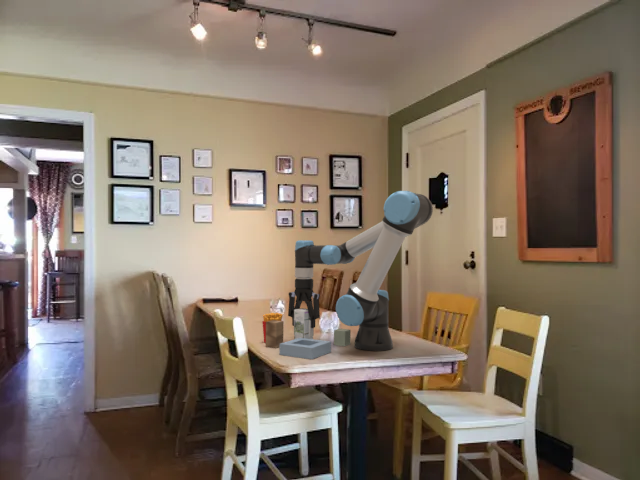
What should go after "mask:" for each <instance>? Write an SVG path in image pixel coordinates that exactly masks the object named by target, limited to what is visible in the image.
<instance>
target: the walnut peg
mask: <svg viewBox="0 0 640 480" xmlns="http://www.w3.org/2000/svg"><path fill="white" fill-rule="evenodd" d="M281 343H284V320H282V321H277V320H272V321H267V322H266V343H265V348H271V349H280V344H281Z"/></svg>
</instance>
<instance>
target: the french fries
mask: <svg viewBox="0 0 640 480" xmlns="http://www.w3.org/2000/svg"><path fill="white" fill-rule="evenodd" d="M262 316H263V317H262V318H263V320H262V322H261V323H262V332H263V333H262V334H263V341H264V342H263V343H265V344H266V322H267V321H272V320H277V321H283V320H282V319H283V316H284V315H283V314H282V313H279V312H270V313H265V314H263V315H262Z"/></svg>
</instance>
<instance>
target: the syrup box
mask: <svg viewBox="0 0 640 480" xmlns="http://www.w3.org/2000/svg"><path fill="white" fill-rule="evenodd" d="M309 320H310V316H309V312H308V308H306V307H304V308H303V307H300V308H299V309H294V326H293V335H294V336H293V340H294V339H297V338H306V339H314V336H310V337H309Z"/></svg>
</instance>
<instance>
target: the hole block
mask: <svg viewBox="0 0 640 480" xmlns="http://www.w3.org/2000/svg"><path fill="white" fill-rule="evenodd" d="M278 349H279V351H278V352H279V356H287V357H292V358H300V359H306V360H315V359H317V358H320V357H322V356H325V355H328V354H329V353H332V340H331V341H330V340H321V339H314V338H313V339H306V338H297V339H294V338H293V339H291V340H288V341H285V342H284V341H283V343H281V344H280V347H279V348H278Z"/></svg>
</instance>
